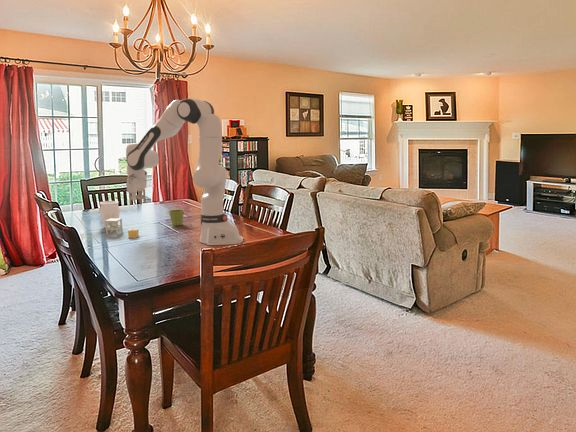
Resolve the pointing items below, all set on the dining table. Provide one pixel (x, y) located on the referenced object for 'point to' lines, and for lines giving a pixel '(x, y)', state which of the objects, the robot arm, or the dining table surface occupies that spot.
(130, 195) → the tan square stool
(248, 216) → the dining table surface
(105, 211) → the jar
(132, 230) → the letter block
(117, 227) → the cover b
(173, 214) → the plant pot
